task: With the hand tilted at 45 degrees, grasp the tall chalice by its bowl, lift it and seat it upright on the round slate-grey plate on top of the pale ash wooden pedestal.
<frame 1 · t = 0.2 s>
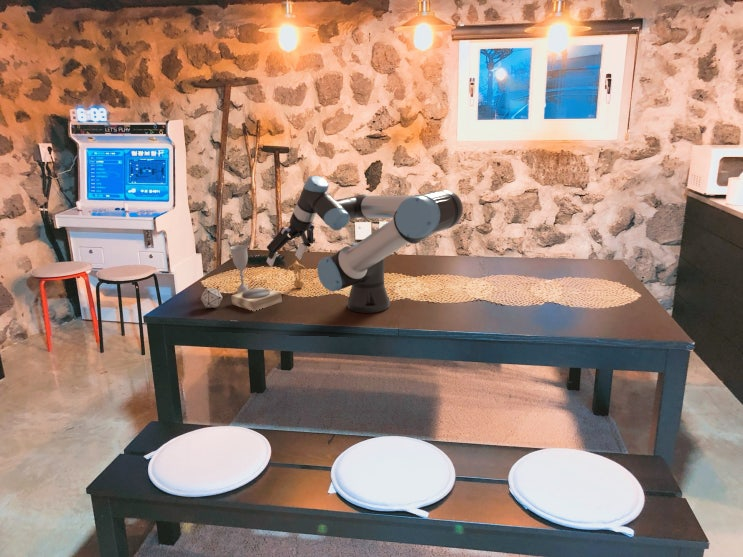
hand: (283, 260, 218), 16 cm above the table, tool tilted 35°, fingers open, 13 cm apart
pedestal: (257, 303, 221), on the table
figurine: (298, 289, 236), on the table
game die: (212, 308, 217), on the table
chalice: (243, 291, 236), on the table
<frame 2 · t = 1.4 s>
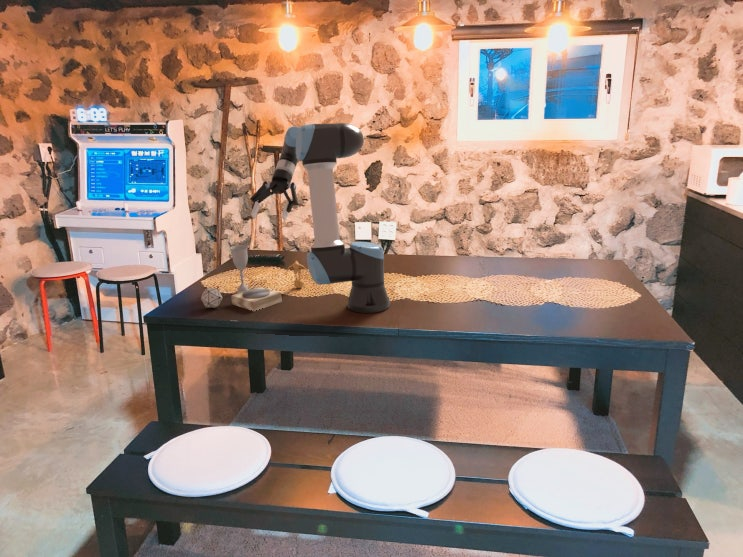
hand: (268, 217, 232), 28 cm above the table, tool tilted 45°, fingers open, 13 cm apart
nothing on the table moved.
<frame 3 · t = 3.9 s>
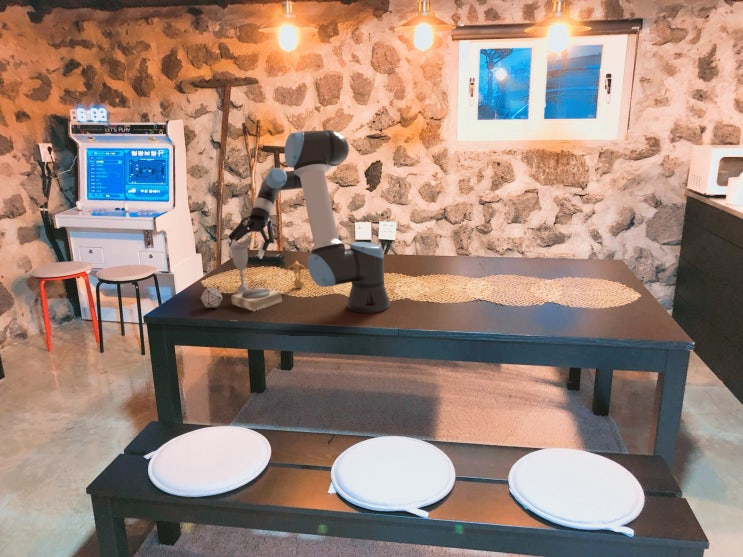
hand: (244, 256, 236), 13 cm above the table, tool tilted 45°, fingers open, 13 cm apart
nothing on the table moved.
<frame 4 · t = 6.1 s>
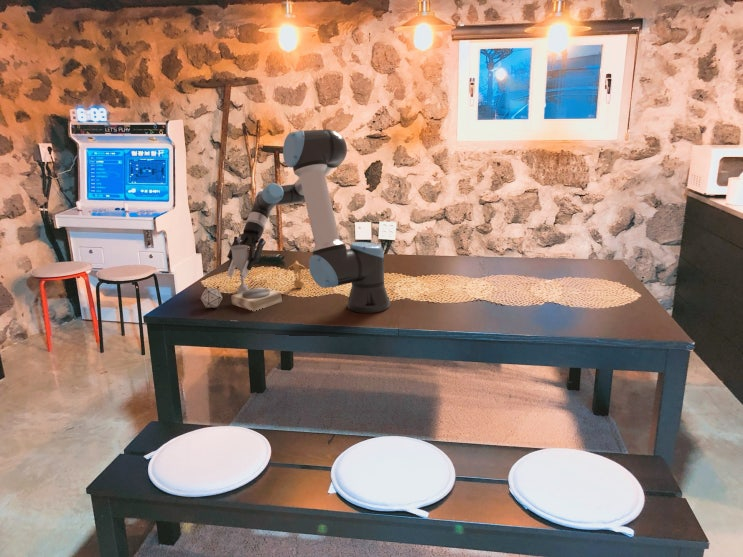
hand: (236, 275, 230), 7 cm above the table, tool tilted 45°, fingers closed on chalice, 6 cm apart
chalice: (243, 291, 236), on the table, touching gripper
everything else where it was.
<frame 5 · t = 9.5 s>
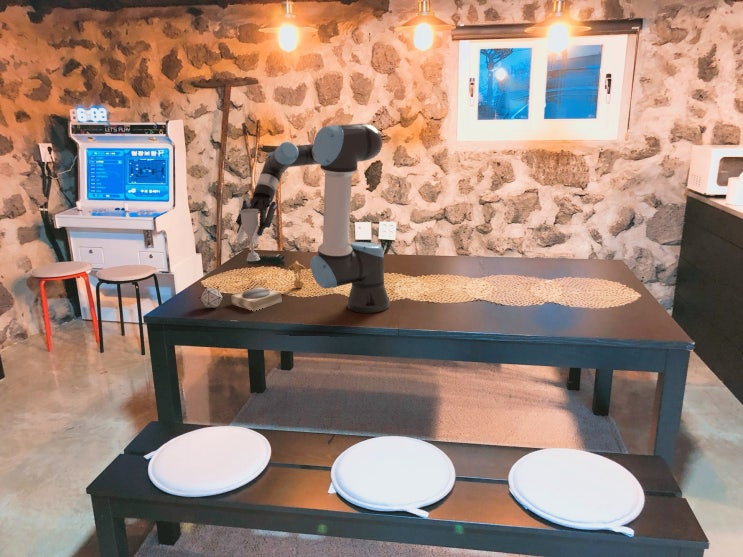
hand: (246, 242, 211), 24 cm above the table, tool tilted 45°, fingers closed on chalice, 6 cm apart
chalice: (253, 259, 216), point 17 cm above the table, touching gripper
everything else where it was.
when the fingers open (13 cm above the table, at t = 12.8 s): chalice drops 1 cm, resting on pedestal.
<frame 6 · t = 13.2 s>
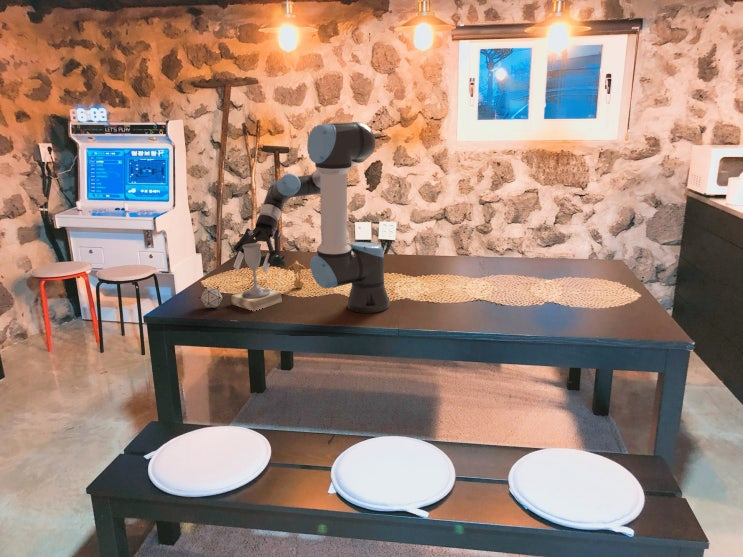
hand: (249, 269, 215), 14 cm above the table, tool tilted 45°, fingers open, 11 cm apart
chalice: (256, 293, 220), point 4 cm above the table, touching pedestal
everything else where it was.
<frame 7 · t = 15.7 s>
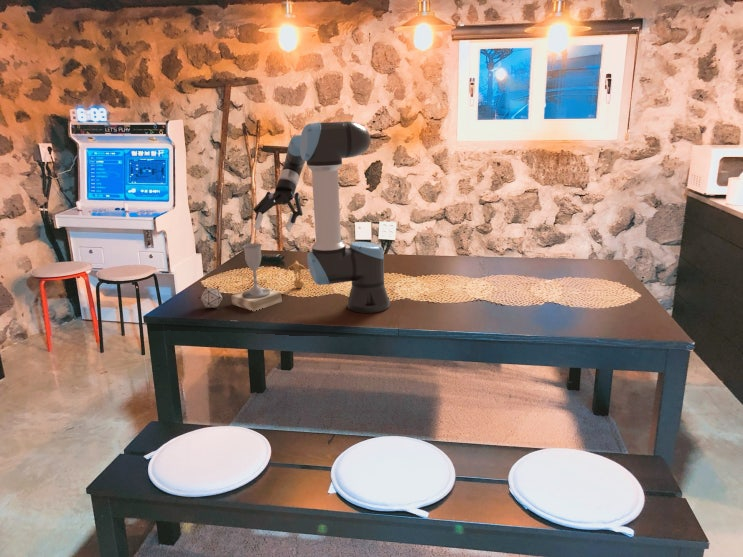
hand: (271, 229, 226), 25 cm above the table, tool tilted 45°, fingers open, 13 cm apart
nothing on the table moved.
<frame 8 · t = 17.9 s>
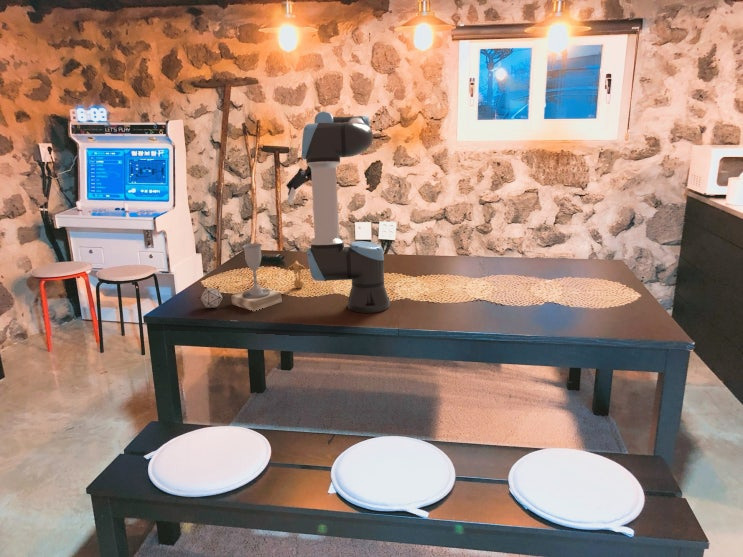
hand: (304, 203, 235), 33 cm above the table, tool tilted 45°, fingers open, 13 cm apart
nothing on the table moved.
at the end: chalice 0.1 cm off-centre on the pedestal, point 3.8 cm above the pedestal's base; chalice tilted 0°; the gripper is holding nothing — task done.
